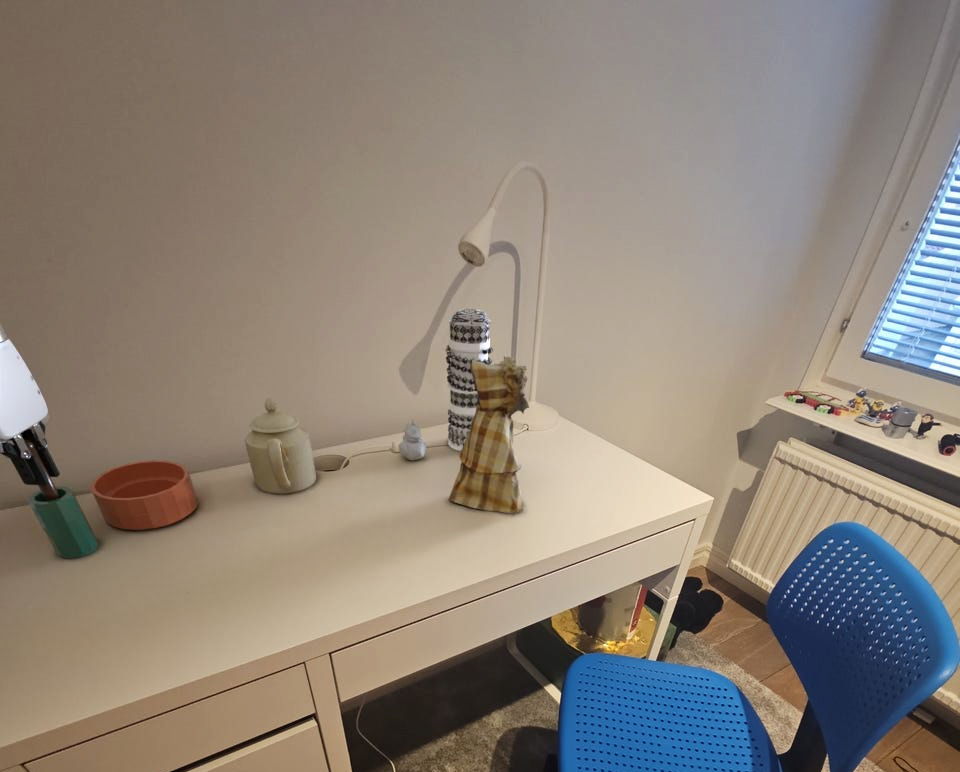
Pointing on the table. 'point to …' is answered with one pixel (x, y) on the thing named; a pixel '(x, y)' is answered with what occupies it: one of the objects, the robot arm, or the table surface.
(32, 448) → the stirring stick
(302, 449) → the sugar bowl
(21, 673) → the table surface
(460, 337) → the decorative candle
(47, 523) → the stick holder
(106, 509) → the mixing bowl
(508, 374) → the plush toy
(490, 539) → the table surface
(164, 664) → the table surface
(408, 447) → the grey figurine
